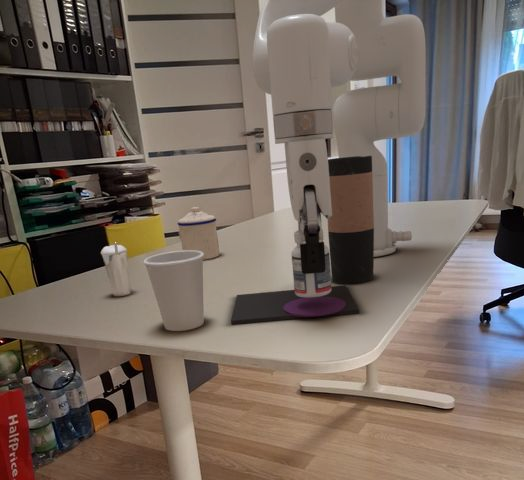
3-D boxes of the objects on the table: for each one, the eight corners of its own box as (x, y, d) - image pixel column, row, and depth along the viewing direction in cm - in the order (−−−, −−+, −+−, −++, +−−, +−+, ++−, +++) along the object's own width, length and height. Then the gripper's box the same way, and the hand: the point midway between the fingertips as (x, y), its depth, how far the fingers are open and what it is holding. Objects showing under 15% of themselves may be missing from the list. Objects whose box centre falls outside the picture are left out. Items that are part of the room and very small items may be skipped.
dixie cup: (163, 338, 71) (150, 265, 67) (150, 323, 78) (137, 256, 74) (220, 325, 73) (211, 255, 70) (203, 312, 81) (193, 247, 77)
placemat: (345, 288, 86) (345, 283, 85) (361, 316, 71) (361, 310, 71) (237, 298, 87) (236, 293, 86) (230, 328, 72) (229, 321, 72)
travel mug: (326, 284, 89) (319, 161, 82) (335, 273, 96) (330, 158, 89) (371, 284, 87) (368, 156, 79) (378, 273, 93) (375, 154, 86)
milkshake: (113, 299, 94) (102, 244, 90) (107, 294, 98) (96, 241, 95) (138, 294, 96) (128, 240, 92) (131, 289, 100) (121, 237, 97)
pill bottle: (332, 287, 77) (329, 226, 73) (330, 297, 72) (327, 232, 69) (296, 289, 78) (292, 229, 75) (292, 299, 73) (287, 235, 70)
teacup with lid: (228, 254, 125) (222, 204, 121) (198, 262, 119) (191, 210, 115) (197, 251, 133) (191, 204, 129) (168, 258, 128) (160, 210, 123)
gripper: (340, 122, 59) (347, 279, 65) (325, 128, 75) (331, 254, 81) (274, 129, 59) (287, 285, 66) (273, 134, 75) (284, 258, 82)
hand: (311, 266), depth 73 cm, fingers closed on pill bottle, 5 cm apart
